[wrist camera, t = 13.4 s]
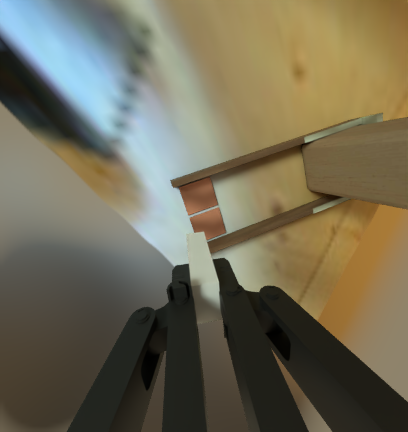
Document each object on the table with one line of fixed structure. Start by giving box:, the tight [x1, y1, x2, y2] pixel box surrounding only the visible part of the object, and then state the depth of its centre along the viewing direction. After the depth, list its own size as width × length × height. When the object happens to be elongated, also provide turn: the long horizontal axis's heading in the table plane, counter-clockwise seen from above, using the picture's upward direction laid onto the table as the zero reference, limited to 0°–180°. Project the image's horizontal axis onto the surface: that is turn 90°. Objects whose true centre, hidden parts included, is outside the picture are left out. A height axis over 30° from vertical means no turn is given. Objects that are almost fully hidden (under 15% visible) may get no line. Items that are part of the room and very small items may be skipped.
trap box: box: [170, 113, 383, 254], centre depth 37 cm, size 15×38×6 cm, turn 108°
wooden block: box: [302, 117, 408, 209], centre depth 31 cm, size 10×10×20 cm
